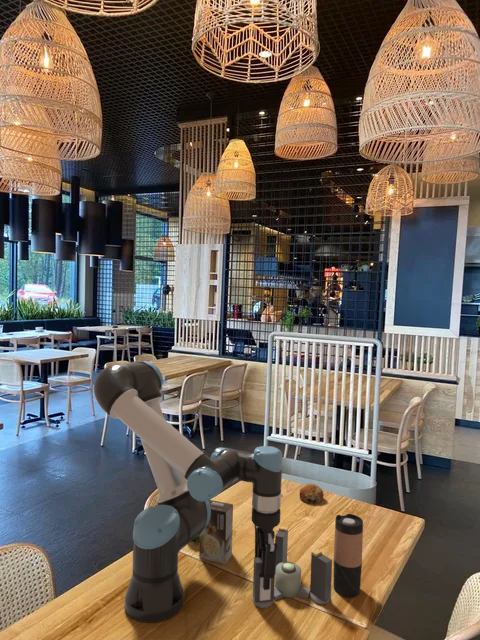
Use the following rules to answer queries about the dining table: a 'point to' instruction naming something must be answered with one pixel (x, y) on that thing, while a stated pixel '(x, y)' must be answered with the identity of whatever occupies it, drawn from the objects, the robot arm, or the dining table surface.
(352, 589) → the travel mug
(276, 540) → the grey block tan end
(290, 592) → the tribrach hub
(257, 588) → the dark grey upright block
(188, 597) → the dining table surface
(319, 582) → the grey post tan tip
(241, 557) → the dining table surface
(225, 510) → the coffee box
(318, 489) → the bread roll
